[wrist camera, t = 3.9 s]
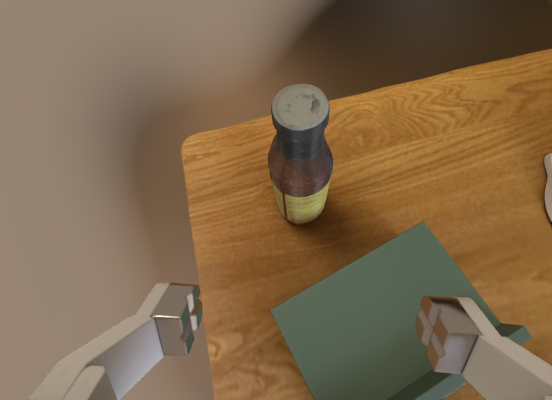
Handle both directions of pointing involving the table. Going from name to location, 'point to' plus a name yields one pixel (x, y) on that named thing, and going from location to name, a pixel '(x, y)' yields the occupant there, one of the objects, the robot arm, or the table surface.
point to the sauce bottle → (300, 153)
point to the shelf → (378, 323)
